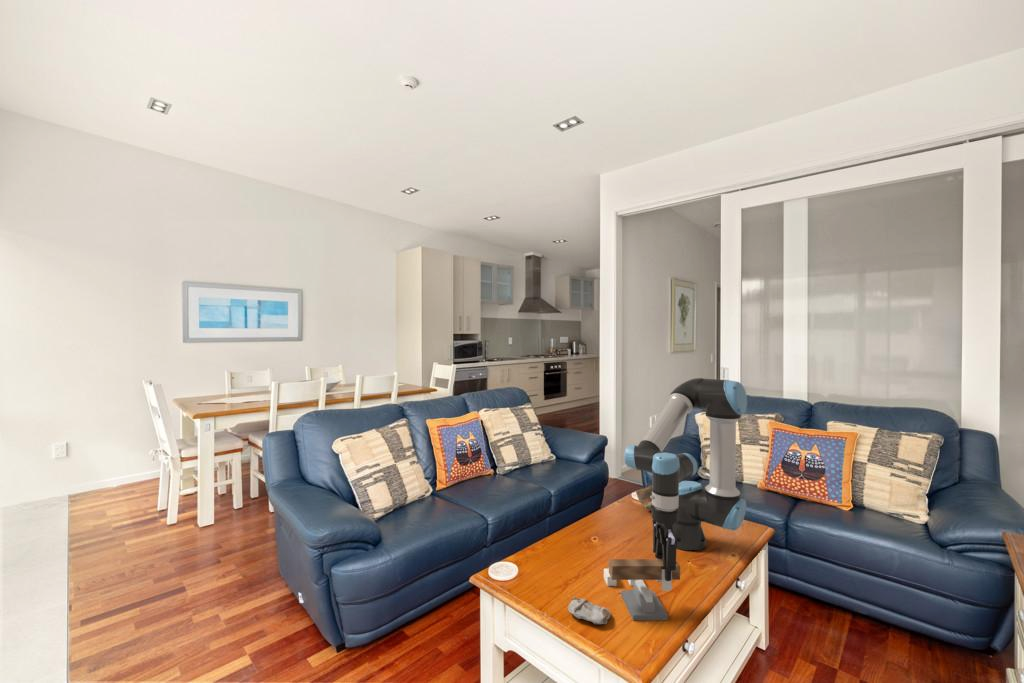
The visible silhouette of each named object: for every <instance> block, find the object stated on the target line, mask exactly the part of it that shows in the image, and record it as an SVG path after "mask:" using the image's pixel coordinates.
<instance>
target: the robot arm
mask: <svg viewBox="0 0 1024 683" xmlns="http://www.w3.org/2000/svg"><path fill="white" fill-rule="evenodd" d="M666 401H667V403H666V404H665V406H664V407H663V408H662V410H661V411H660V413H659V415H658V416H657V418H656V419H655V420H654V422H652V425H651V427H650V428H649V429H648V431H647V432H646V433H645V435H644V436H643V438H641V441H640V442H639V444H638V445H635V444H634V445H632V444H630V445H628V446H627V447H626V448H625V450H624V453H623V460H624V461H623V462H624V464H625V465H626V467H627V468H631V469H634V470H636V471H642V472H646V473H651V476H652V478H651V479H652V480H651V481H652V482H651V483H652V484H651V485H652V495H651V496H650V497H651V499H652V504H653V506H652V511H651V515H650V516H651V518H652V553H653V554H654V557H655V559H663V566H661V569H662V580H655V582H661V591H662V592H663V591H664V592H666V591H668V592H670V591H672V588H673V584H672V583H673V580H672V570H676V561H677V549H678V550H682V551H687V550H690V551H689V552H692V551H691V550H699V551H701V550H700V549H702V550H704V549H705V548H706V547H707V540H706V539H707V538H706V535H705V532H704V529H703V527H702V522H703V523H706V524H710V525H712V526H714V527H715V526H716V527H719V528H722V529H724V530H730V531H737V530H738V529H740V527H741V526H742V523H743V521H744V519H745V516H746V510H747V503H746V499H743V498H741V491H740V490H739V489H738V488H737V486H736V474H737V473H736V464H737V463H736V458H737V456H736V454H737V450H736V448H737V446H736V445H737V444H736V443H737V439H736V438H737V422H738V421H740V420H741V418H742V417H741V416H742V415H744V414H746V411H747V409H748V408H747V407H748V396H747V393H746V389H745V387H744V385H743V384H742V383H740V381H735V380H729V379H717V378H716V379H715V378H702V377H697V378H691V379H688V380H686V381H684V382H682V383H681V384H679V385H678V386H676V387H675V388H674V389H673V390H672V391H671V392H670V394H668V396H667V400H666ZM696 409H698V410H705V417H706V418H707V419H709V484H707V485H706V486H705V487H704V489H703V485H702V483H700V482H697V481H694V480H689V479H691V477H693V476H694V475H696V473H697V472H698V462H697V460H696V458H695V457H694V456H693V455H691V454H690V453H687V452H683V453H681V452H680V453H678V454H677V453H671V452H666V451H664V449H665V448H666V446H667V445H668V443H669V442H670V440H672V439H671V438H672V437H673V435H674V434H675V432H676V431H677V430H678V427H679V426H680V424H681V423H682V422H683V420H684V418H685V417H686V415H688V414H691V413H692V411H693V410H696ZM705 546H706V547H705ZM704 547H705V548H704ZM703 548H704V549H703Z"/></svg>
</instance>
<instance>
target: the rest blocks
mask: <svg viewBox="0 0 1024 683" xmlns="http://www.w3.org/2000/svg"><path fill="white" fill-rule="evenodd" d="M603 579H604V582H605V585H606V586H607V587H618V582H617V581H618V580H612V578H611V576H610V574H609V567H608V568H603ZM627 582H628V584H629V586H630V587H633V583H635V580H627Z"/></svg>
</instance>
